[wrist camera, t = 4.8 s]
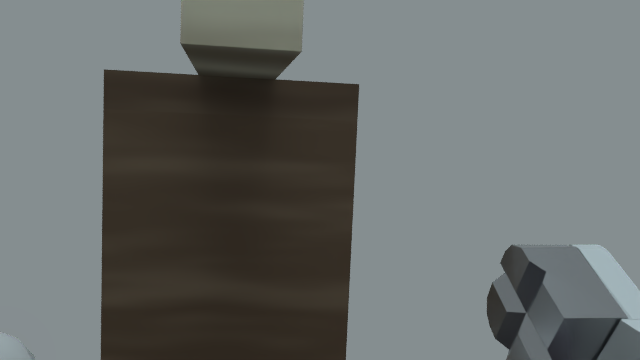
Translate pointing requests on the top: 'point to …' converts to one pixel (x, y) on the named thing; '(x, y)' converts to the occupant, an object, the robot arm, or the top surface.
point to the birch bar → (241, 36)
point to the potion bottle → (13, 349)
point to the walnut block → (226, 217)
